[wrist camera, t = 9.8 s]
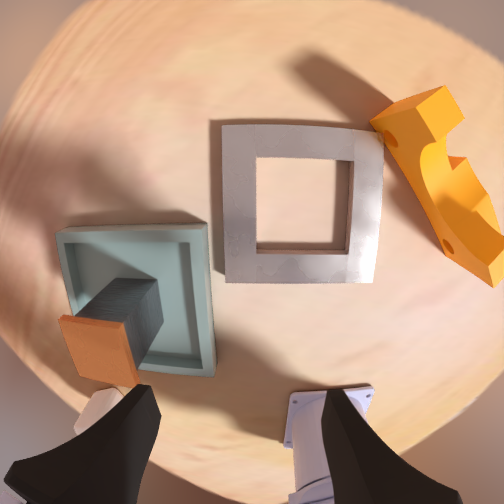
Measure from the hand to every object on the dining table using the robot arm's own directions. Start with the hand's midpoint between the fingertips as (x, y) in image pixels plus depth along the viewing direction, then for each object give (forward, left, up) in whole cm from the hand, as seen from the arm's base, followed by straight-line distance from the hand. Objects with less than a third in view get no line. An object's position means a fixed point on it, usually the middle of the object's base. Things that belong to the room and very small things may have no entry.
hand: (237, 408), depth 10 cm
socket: (+6, -3, -10) cm, 13 cm away
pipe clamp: (+9, -13, -11) cm, 19 cm away
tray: (-1, +9, -10) cm, 13 cm away
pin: (0, +8, -10) cm, 13 cm away
